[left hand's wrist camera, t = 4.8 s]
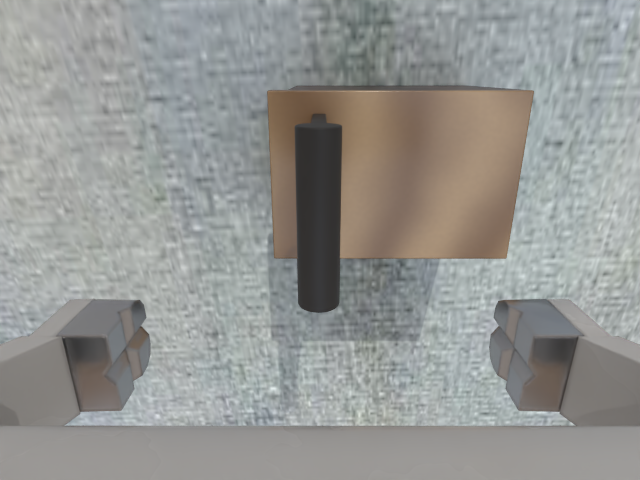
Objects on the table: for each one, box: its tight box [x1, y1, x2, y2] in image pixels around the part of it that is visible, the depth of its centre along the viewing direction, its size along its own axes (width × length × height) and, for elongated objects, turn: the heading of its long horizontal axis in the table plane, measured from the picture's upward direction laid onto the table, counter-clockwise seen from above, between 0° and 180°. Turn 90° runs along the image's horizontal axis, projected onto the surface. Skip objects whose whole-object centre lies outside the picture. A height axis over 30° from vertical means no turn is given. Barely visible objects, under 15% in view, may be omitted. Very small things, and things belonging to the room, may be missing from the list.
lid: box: [267, 90, 534, 313], centre depth 21 cm, size 14×9×9 cm
